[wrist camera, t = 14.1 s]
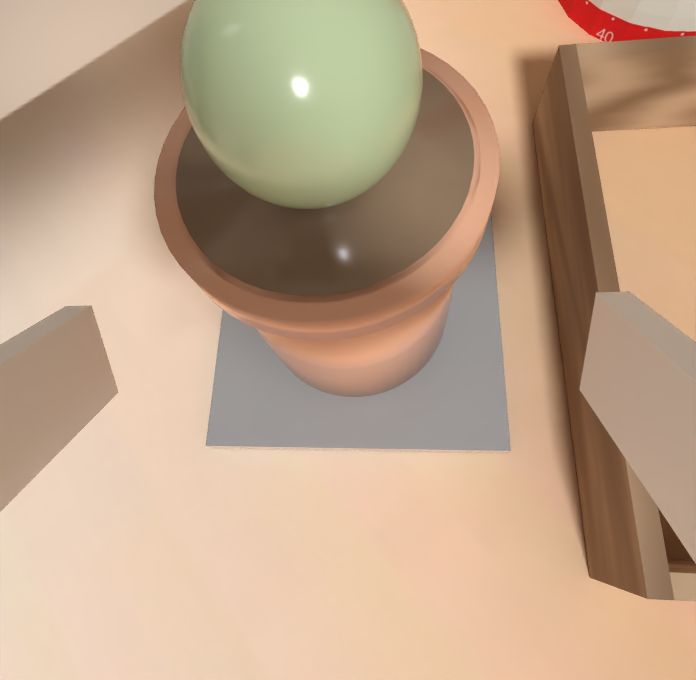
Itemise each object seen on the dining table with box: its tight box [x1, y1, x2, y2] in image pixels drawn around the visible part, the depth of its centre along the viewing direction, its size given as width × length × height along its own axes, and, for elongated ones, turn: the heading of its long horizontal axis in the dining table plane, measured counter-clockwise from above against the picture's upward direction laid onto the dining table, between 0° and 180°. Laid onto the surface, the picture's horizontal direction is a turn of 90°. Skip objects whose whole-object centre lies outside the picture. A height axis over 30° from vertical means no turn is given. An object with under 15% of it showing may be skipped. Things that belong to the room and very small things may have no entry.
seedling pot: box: [154, 0, 500, 397], centre depth 16 cm, size 10×10×16 cm
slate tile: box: [206, 212, 511, 453], centre depth 24 cm, size 14×14×1 cm
